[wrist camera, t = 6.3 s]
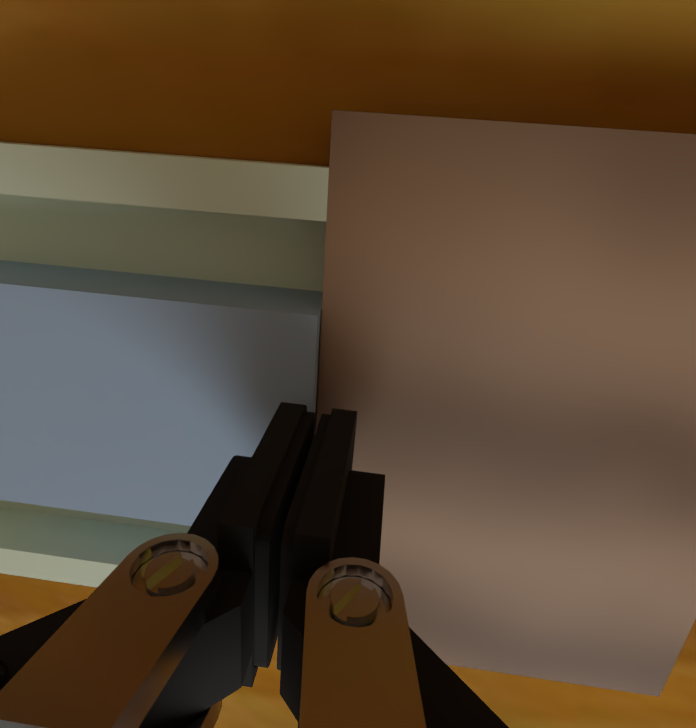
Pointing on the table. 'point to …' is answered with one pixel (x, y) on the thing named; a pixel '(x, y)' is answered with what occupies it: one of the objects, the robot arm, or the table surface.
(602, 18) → the table surface
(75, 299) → the blue-grey flat block
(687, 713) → the table surface
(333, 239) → the brown flat block
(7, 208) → the tray
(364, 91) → the table surface
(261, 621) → the robot arm
